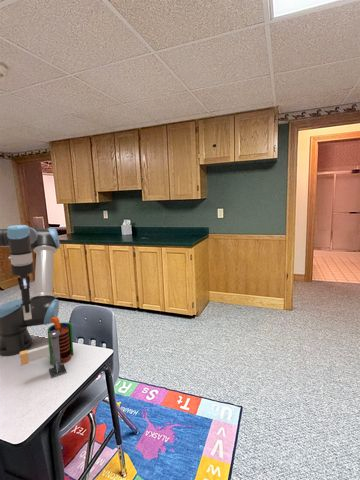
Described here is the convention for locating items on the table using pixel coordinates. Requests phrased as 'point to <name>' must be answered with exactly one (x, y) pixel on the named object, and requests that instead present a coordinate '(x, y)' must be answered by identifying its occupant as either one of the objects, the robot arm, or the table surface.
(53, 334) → the post
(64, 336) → the motor
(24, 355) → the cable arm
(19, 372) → the table surface
